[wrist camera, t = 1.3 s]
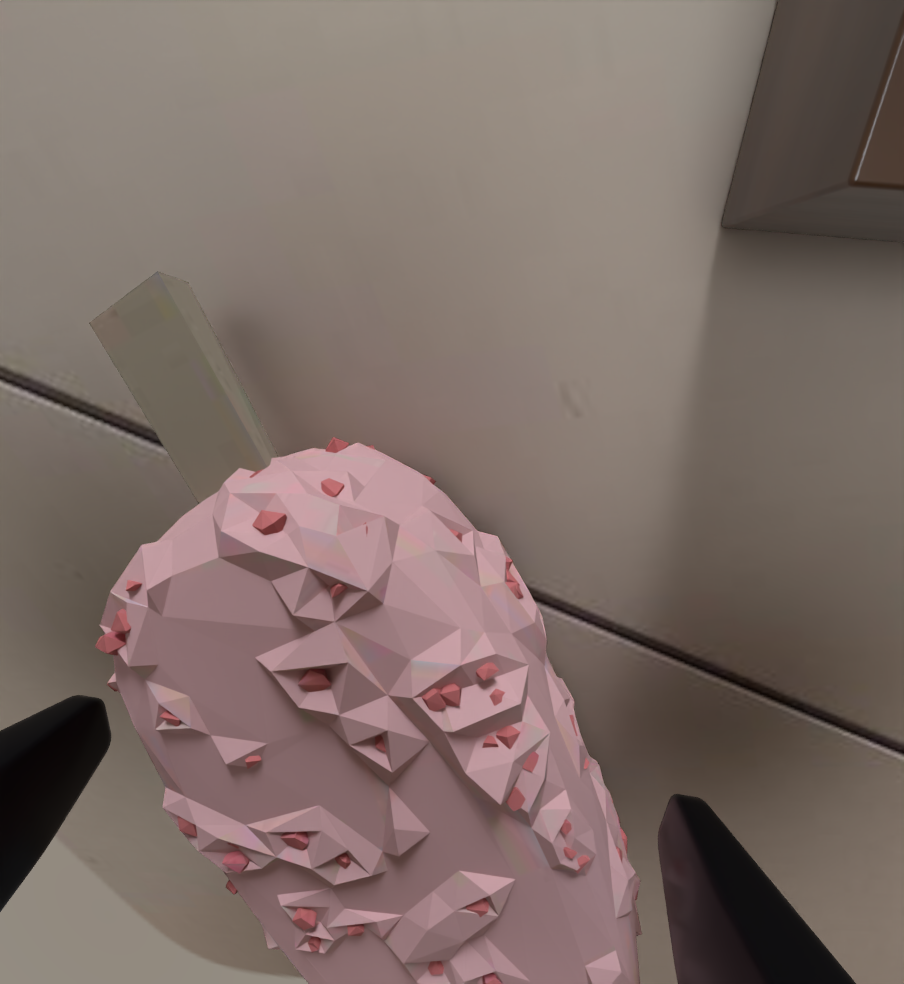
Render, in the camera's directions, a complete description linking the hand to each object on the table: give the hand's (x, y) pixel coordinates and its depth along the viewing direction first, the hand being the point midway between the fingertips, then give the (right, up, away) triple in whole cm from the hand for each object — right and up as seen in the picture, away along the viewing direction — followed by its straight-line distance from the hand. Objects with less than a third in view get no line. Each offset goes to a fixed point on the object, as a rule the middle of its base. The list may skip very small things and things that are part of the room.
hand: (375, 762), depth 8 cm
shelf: (+12, +30, -10) cm, 34 cm away
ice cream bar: (0, +1, +3) cm, 3 cm away
